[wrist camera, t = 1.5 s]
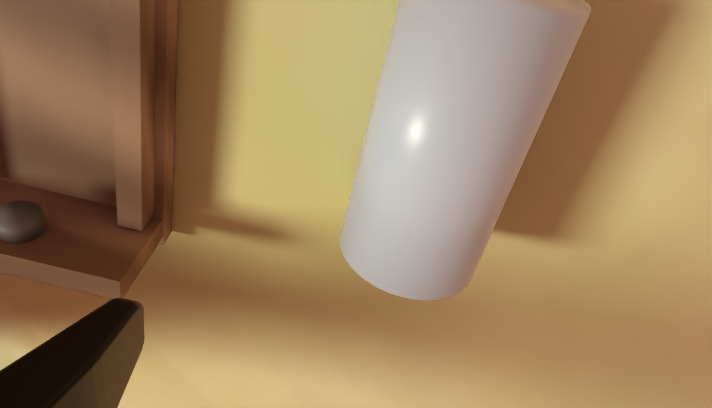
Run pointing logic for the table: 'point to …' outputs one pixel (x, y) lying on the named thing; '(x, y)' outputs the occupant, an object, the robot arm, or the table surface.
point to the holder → (86, 139)
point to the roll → (451, 135)
